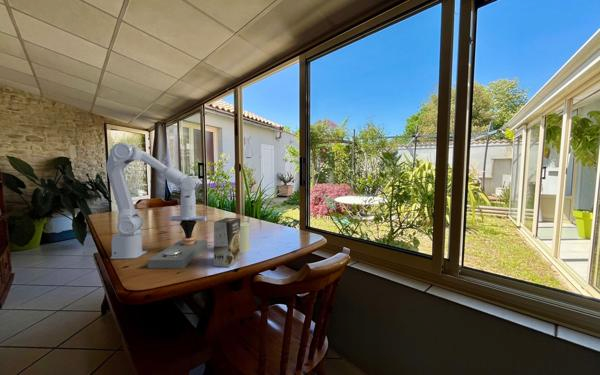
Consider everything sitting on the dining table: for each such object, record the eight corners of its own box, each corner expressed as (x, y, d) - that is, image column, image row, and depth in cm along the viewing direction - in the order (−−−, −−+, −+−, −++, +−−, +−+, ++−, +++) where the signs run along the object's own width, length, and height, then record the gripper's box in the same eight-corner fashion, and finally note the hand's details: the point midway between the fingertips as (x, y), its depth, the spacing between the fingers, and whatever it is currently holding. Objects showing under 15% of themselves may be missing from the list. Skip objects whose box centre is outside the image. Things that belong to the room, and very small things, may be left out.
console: (147, 268, 84) (147, 259, 84) (180, 247, 109) (180, 240, 109) (183, 268, 85) (182, 259, 84) (207, 246, 109) (207, 240, 109)
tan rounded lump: (179, 249, 101) (179, 239, 101) (185, 245, 106) (185, 236, 106) (192, 249, 101) (192, 239, 101) (197, 245, 106) (197, 236, 106)
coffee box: (229, 267, 85) (229, 222, 85) (213, 266, 87) (212, 221, 86) (241, 259, 94) (241, 217, 94) (225, 257, 96) (225, 217, 95)
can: (252, 247, 109) (252, 221, 109) (244, 254, 100) (244, 225, 100) (233, 246, 111) (233, 220, 110) (223, 252, 102) (223, 224, 101)
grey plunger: (162, 264, 87) (161, 253, 87) (169, 259, 92) (169, 249, 92) (176, 264, 87) (176, 253, 87) (183, 259, 92) (183, 249, 92)
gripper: (165, 207, 98) (166, 240, 99) (202, 207, 99) (202, 240, 100) (174, 205, 105) (174, 236, 106) (208, 205, 106) (208, 236, 107)
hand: (188, 238), depth 103 cm, fingers closed, pressing on tan rounded lump
